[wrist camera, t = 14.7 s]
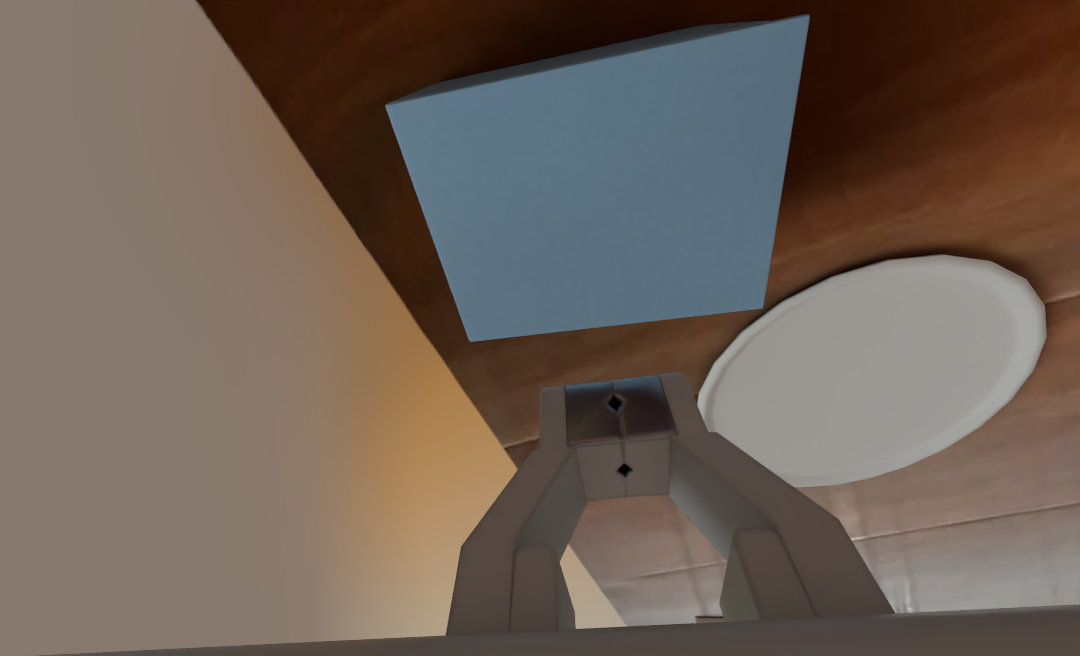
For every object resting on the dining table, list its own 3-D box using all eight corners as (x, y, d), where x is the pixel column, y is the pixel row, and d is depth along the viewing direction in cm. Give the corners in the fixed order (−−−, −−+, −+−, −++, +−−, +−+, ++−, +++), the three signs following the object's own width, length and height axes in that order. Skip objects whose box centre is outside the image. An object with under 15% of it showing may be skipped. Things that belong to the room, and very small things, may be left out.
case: (701, 24, 23) (771, 20, 16) (693, 234, 30) (738, 296, 23) (436, 82, 25) (390, 102, 18) (489, 267, 32) (471, 334, 25)
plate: (633, 386, 40) (635, 395, 38) (985, 165, 27) (1002, 170, 26) (775, 507, 51) (780, 517, 50) (1066, 392, 39) (1079, 401, 38)
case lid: (801, 14, 15) (811, 13, 15) (758, 301, 23) (763, 309, 22) (390, 102, 18) (383, 104, 17) (471, 334, 25) (469, 342, 24)
